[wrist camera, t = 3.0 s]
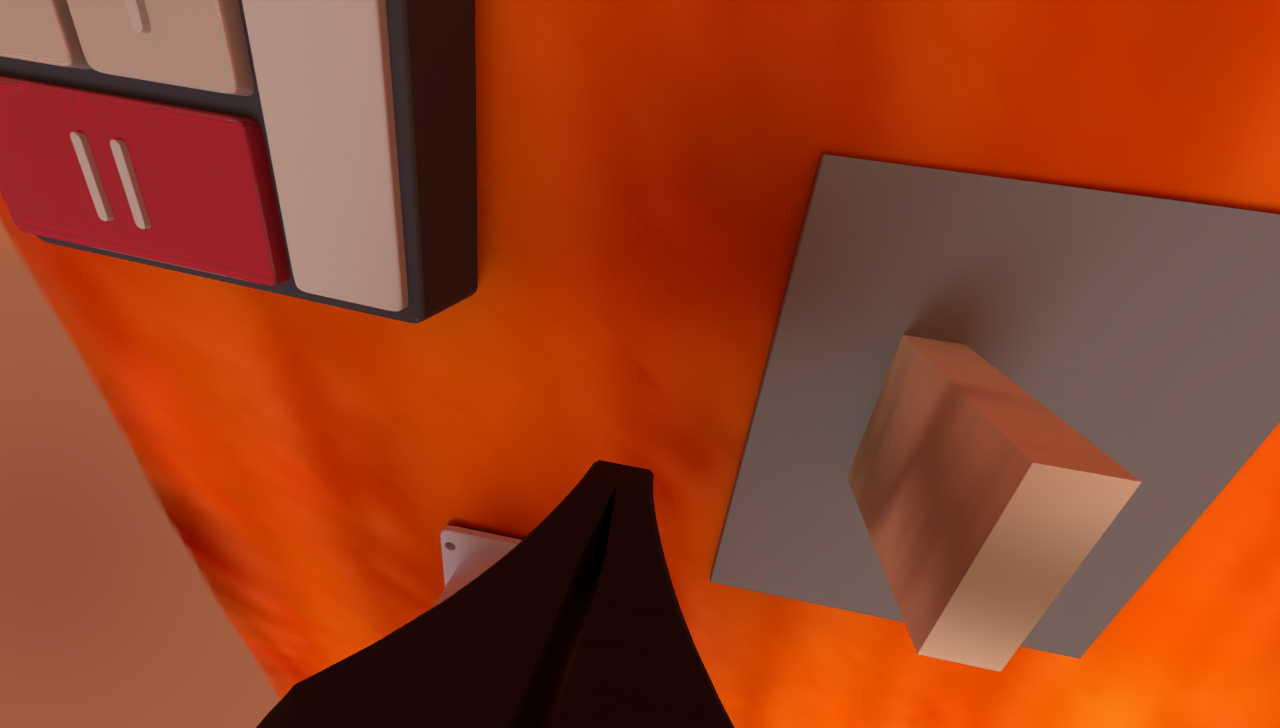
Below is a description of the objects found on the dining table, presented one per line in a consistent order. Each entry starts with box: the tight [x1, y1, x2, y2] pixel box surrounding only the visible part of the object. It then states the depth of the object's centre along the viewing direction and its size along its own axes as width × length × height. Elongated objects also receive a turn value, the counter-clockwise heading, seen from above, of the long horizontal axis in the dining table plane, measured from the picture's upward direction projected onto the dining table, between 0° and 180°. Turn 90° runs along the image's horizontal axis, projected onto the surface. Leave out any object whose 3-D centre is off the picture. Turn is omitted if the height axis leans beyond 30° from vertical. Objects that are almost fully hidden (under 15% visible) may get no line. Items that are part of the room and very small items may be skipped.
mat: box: [710, 154, 1280, 658], centre depth 17 cm, size 18×16×1 cm
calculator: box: [0, 0, 477, 323], centre depth 14 cm, size 11×4×15 cm
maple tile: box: [847, 335, 1141, 672], centre depth 13 cm, size 6×2×7 cm, turn 173°
